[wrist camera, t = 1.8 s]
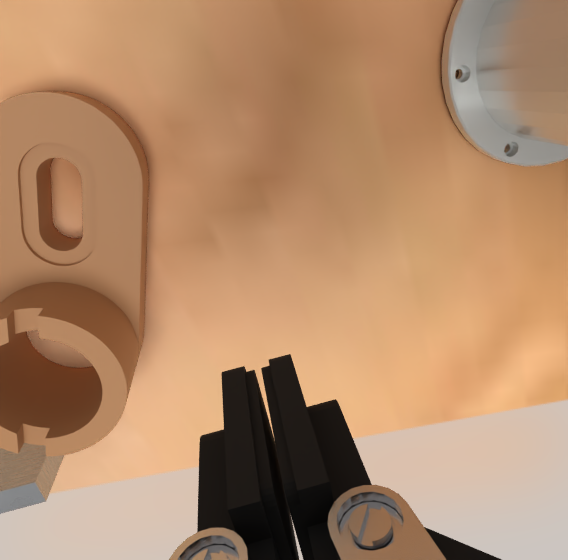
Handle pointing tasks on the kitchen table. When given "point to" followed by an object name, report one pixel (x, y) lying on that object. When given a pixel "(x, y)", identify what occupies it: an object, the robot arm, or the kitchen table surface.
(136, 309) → the bracket
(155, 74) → the kitchen table surface
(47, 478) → the steel u-channel
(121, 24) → the kitchen table surface
